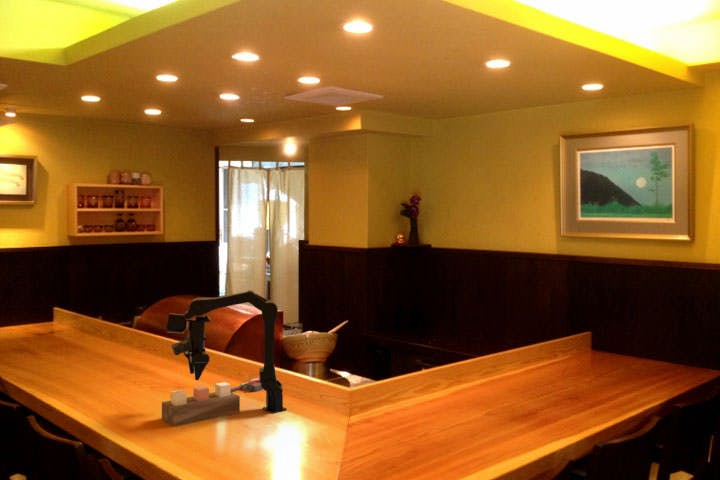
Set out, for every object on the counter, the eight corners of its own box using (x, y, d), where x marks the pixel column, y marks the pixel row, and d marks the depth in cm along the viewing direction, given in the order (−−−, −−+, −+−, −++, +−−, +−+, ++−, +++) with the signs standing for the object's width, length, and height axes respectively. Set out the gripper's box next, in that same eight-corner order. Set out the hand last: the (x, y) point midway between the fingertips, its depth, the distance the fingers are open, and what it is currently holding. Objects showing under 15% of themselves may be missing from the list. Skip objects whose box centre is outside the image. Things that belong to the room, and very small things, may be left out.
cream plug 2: (230, 400, 251) (230, 384, 251) (220, 402, 249) (220, 386, 248) (225, 397, 254) (225, 382, 254) (215, 399, 252) (215, 383, 251)
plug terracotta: (209, 404, 246) (209, 388, 246) (198, 406, 243) (198, 390, 243) (203, 401, 249) (203, 385, 249) (193, 403, 246) (193, 387, 246)
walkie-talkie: (261, 383, 293) (225, 393, 277) (261, 373, 292) (225, 382, 277) (276, 386, 287) (240, 397, 271) (276, 376, 287) (240, 386, 271)
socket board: (239, 412, 250) (239, 396, 250) (174, 426, 235) (173, 408, 234) (226, 406, 258) (226, 390, 258) (161, 419, 242) (161, 402, 242)
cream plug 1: (186, 408, 240) (186, 392, 240) (175, 410, 238) (175, 394, 238) (181, 406, 244) (181, 389, 243) (170, 408, 241) (170, 391, 241)
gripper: (169, 329, 254) (167, 371, 254) (178, 339, 237) (175, 384, 237) (200, 328, 258) (197, 370, 259) (211, 338, 241) (208, 383, 242)
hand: (194, 376), depth 249 cm, fingers open, 9 cm apart
